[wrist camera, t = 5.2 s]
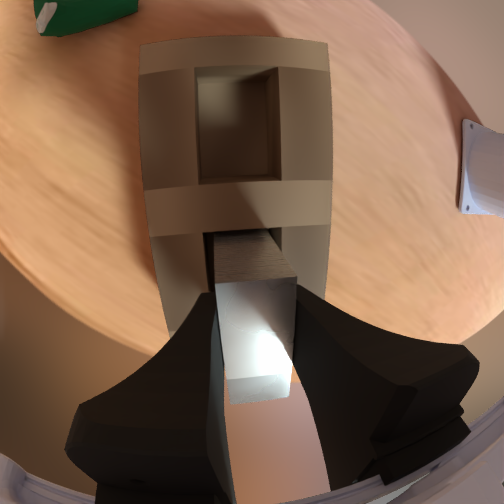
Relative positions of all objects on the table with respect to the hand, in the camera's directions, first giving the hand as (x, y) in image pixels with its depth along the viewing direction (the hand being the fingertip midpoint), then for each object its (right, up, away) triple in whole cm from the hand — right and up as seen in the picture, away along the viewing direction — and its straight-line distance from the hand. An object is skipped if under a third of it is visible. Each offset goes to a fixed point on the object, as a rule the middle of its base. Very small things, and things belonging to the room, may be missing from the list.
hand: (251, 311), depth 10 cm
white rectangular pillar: (-1, +2, +5) cm, 5 cm away
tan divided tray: (-1, +6, +5) cm, 7 cm away
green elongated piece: (-11, +19, -2) cm, 22 cm away
